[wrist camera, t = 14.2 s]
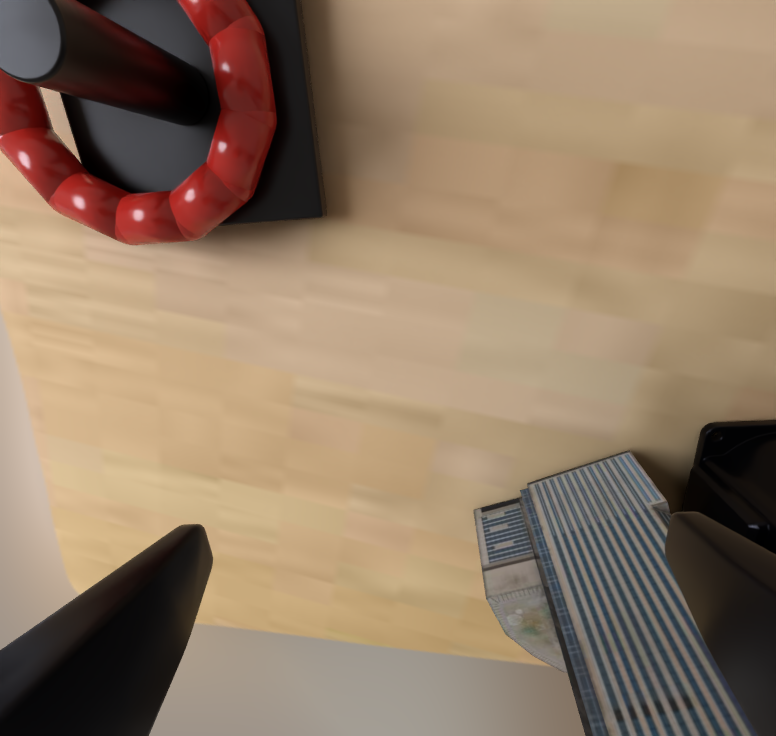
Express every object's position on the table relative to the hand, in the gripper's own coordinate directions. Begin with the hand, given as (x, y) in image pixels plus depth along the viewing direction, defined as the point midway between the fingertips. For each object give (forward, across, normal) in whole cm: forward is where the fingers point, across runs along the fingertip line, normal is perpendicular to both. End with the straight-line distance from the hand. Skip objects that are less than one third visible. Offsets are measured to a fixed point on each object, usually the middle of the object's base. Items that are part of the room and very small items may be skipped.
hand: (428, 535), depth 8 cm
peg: (+12, +8, -10) cm, 18 cm away
